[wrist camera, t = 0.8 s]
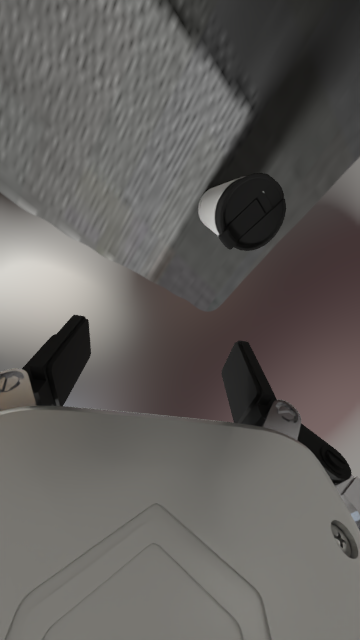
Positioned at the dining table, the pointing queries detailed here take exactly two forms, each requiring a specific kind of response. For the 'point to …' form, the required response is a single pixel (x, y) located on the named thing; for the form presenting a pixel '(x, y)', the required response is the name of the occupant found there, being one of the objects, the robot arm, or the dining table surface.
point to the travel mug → (244, 211)
